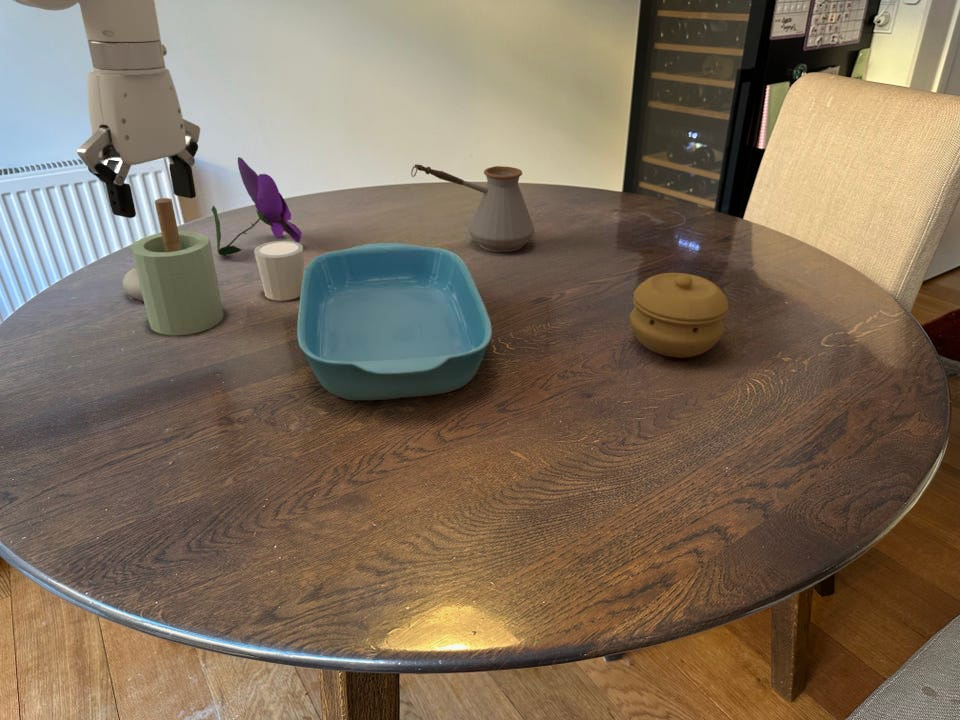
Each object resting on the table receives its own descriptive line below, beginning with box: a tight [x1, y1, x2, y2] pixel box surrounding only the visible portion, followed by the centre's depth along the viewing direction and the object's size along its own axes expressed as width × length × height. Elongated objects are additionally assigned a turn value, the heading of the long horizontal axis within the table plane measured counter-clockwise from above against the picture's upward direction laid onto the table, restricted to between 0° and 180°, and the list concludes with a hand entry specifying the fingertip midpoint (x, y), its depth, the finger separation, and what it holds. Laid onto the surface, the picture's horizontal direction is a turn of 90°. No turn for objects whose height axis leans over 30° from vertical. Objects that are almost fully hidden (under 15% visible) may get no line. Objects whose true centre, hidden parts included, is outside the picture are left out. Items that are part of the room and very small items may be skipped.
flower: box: [211, 156, 303, 258], centre depth 116 cm, size 15×15×14 cm
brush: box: [154, 197, 182, 252], centre depth 92 cm, size 4×4×16 cm
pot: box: [629, 272, 729, 359], centre depth 89 cm, size 12×12×10 cm
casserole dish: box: [296, 242, 493, 402], centre depth 89 cm, size 37×22×7 cm, turn 10°
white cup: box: [253, 240, 305, 302], centre depth 102 cm, size 7×7×7 cm
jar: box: [130, 230, 224, 336], centre depth 93 cm, size 9×9×11 cm
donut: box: [121, 266, 144, 302], centre depth 103 cm, size 10×4×10 cm
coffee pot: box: [410, 164, 535, 253], centre depth 118 cm, size 21×12×15 cm, turn 109°
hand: (156, 205), depth 88 cm, fingers open, 9 cm apart
